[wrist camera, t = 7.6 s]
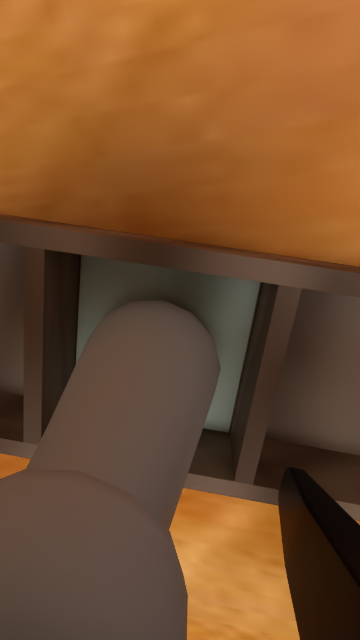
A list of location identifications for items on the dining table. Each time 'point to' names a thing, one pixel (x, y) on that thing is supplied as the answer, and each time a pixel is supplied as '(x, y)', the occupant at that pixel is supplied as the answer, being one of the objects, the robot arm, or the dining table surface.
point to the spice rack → (229, 336)
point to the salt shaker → (109, 486)
